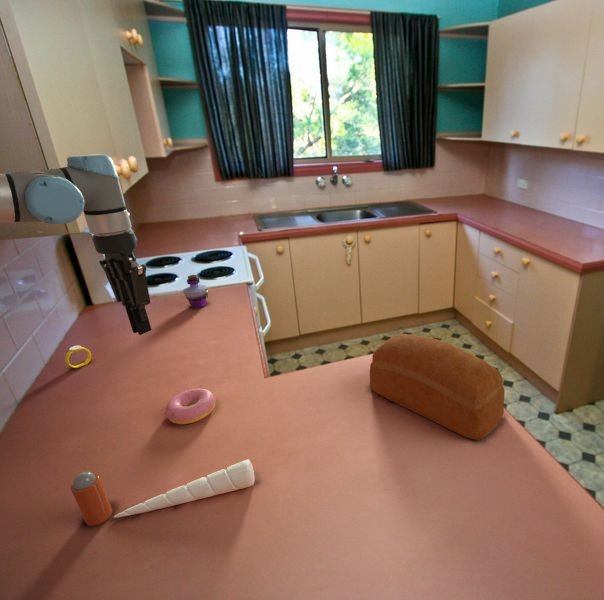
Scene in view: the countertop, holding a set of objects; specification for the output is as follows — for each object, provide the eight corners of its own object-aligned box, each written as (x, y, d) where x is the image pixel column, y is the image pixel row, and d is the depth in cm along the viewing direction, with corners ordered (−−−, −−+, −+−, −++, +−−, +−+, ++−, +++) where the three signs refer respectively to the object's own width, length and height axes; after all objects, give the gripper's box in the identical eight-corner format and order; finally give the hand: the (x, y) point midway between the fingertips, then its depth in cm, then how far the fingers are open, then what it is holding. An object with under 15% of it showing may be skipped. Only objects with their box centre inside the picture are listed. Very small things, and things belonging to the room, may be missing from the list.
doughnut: (216, 420, 98) (212, 406, 97) (163, 432, 95) (159, 417, 93) (217, 394, 108) (214, 380, 106) (170, 404, 105) (165, 390, 103)
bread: (478, 447, 88) (482, 384, 82) (364, 390, 108) (361, 336, 102) (508, 413, 98) (514, 355, 92) (399, 366, 117) (397, 316, 111)
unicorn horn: (120, 502, 78) (112, 482, 76) (255, 472, 84) (251, 453, 82) (112, 524, 74) (103, 503, 72) (255, 490, 80) (250, 471, 78)
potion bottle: (215, 304, 160) (209, 275, 156) (192, 312, 155) (185, 281, 150) (204, 299, 166) (198, 270, 161) (182, 306, 160) (175, 276, 155)
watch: (72, 372, 120) (65, 353, 117) (67, 369, 121) (60, 351, 118) (95, 362, 124) (88, 344, 122) (89, 359, 126) (83, 342, 123)
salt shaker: (81, 520, 75) (61, 478, 71) (104, 503, 78) (87, 462, 74) (93, 529, 73) (74, 487, 69) (117, 511, 76) (100, 470, 72)
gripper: (150, 230, 89) (177, 330, 98) (110, 224, 95) (138, 319, 105) (114, 239, 83) (146, 345, 92) (74, 232, 89) (107, 332, 99)
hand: (142, 331), depth 99 cm, fingers closed
